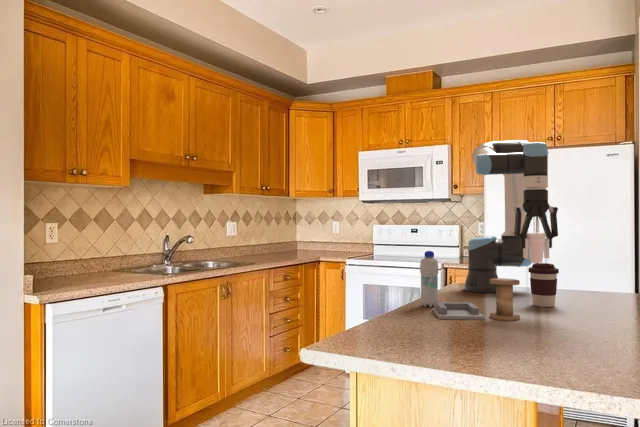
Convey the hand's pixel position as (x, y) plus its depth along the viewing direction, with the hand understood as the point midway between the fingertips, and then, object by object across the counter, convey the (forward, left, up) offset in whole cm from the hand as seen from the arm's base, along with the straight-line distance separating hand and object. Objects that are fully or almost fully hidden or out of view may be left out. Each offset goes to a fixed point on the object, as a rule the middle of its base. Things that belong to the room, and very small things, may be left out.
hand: (536, 257), depth 164 cm
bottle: (-10, -34, -19) cm, 40 cm away
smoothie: (0, 0, -2) cm, 2 cm away
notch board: (+5, -27, -18) cm, 33 cm away
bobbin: (+9, -13, -18) cm, 24 cm away
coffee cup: (-13, +7, -19) cm, 24 cm away
